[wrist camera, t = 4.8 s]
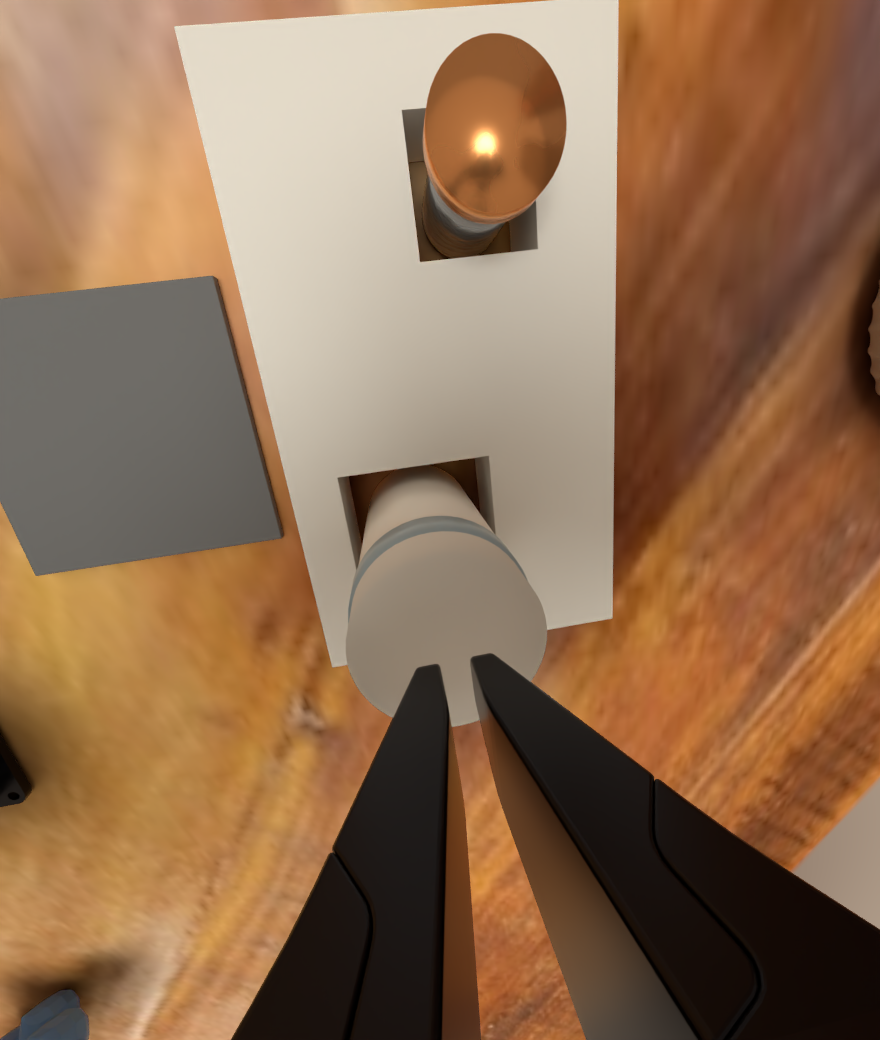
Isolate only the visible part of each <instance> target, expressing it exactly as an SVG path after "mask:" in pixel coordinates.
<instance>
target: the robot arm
mask: <svg viewBox="0 0 880 1040" xmlns="http://www.w3.org/2000/svg"><path fill="white" fill-rule="evenodd" d="M470 667H471V674H472V682H473V689H474V696H475V702H476V707H477V711H478V715H479V719H480V723H481V727H482V732H483V736H484V740H485V744H486V748H487V752H488V756H489V761H490V765H491V769H492V773H493V777H494V781H495V785H496V788H497V792H498V796H499V799H500V802H501V805H502V808H503V811H504V814H505V816H506V819H507V822H508V825H509V827H510V830H511V833H512V836H513V838H514V841H515V844H516V847H517V849H518V852H519V855H520V858H521V861H522V863H523V866H524V869H525V872H526V874H527V877H528V880H529V883H530V885H531V888H532V891H533V894H534V896H535V899H536V902H537V905H538V907H539V910H540V913H541V916H542V918H543V921H544V924H545V927H546V930H547V932H548V935H549V938H550V941H551V943H552V946H553V949H554V952H555V954H556V957H557V960H558V963H559V965H560V968H561V971H562V974H563V976H564V979H565V982H566V985H567V987H568V990H569V993H570V996H571V999H572V1001H573V1004H574V1007H575V1010H576V1012H577V1015H578V1018H579V1021H580V1023H581V1026H582V1029H583V1032H584V1034H585V1037H586V1040H880V929H878V928H877V927H875V926H874V925H872V924H871V923H869V922H867V921H866V920H864V919H863V918H861V917H859V916H858V915H857V914H855V913H853V912H852V911H850V910H849V909H847V908H846V907H844V906H843V905H841V904H840V903H838V902H836V901H835V900H833V899H832V898H830V897H829V896H827V895H826V894H824V893H822V892H821V891H819V890H818V889H816V888H815V887H813V886H811V885H810V884H808V883H807V882H805V881H804V880H802V879H801V878H799V877H798V876H796V875H794V874H793V873H791V872H790V871H788V870H787V869H785V868H784V867H782V866H781V865H779V864H778V863H776V862H775V861H773V860H772V859H770V858H769V857H767V856H766V855H764V854H763V853H761V852H760V851H758V850H757V849H755V848H754V847H752V846H751V845H749V844H748V843H746V842H745V841H743V840H742V839H740V838H739V837H737V836H736V835H734V834H733V833H731V832H730V831H729V830H727V829H726V828H725V827H723V826H722V825H720V824H719V823H718V822H716V821H715V820H714V819H712V818H711V817H709V816H708V815H707V814H705V813H704V812H703V811H701V810H700V809H698V808H697V807H696V806H694V805H693V804H691V803H690V802H689V801H687V800H686V799H685V798H683V797H682V796H681V795H679V794H678V793H677V792H675V791H674V790H673V789H671V788H670V787H669V786H667V785H666V784H665V783H664V782H662V781H661V780H659V779H656V780H655V781H654V776H653V775H652V774H651V773H650V772H649V771H647V770H646V769H645V768H643V767H642V766H641V765H639V764H638V763H637V762H636V761H634V760H633V759H632V758H630V757H629V756H628V755H626V754H625V753H624V752H622V751H621V750H620V749H618V748H617V747H616V746H614V745H613V744H612V743H610V742H609V741H608V740H607V739H605V738H604V737H603V736H601V735H600V734H599V733H597V732H596V731H595V730H593V729H592V728H591V727H589V726H588V725H587V724H585V723H584V722H583V721H582V720H580V719H579V718H578V717H576V716H575V715H574V714H572V713H571V712H570V711H568V710H567V709H566V708H564V707H563V706H562V705H560V704H559V703H558V702H557V701H555V700H554V699H553V698H551V697H550V696H549V695H547V694H546V693H545V692H543V691H542V690H541V689H539V688H538V687H537V686H535V685H534V684H533V683H532V682H530V681H529V680H528V679H526V678H525V677H524V676H522V675H521V674H520V673H518V672H517V671H516V670H514V669H513V668H512V667H510V666H509V665H508V664H506V663H505V662H504V661H503V660H501V659H500V658H499V657H497V656H496V655H495V654H492V653H487V654H482V655H477V656H473V657H471V659H470ZM31 792H32V787H31V785H30V783H29V782H28V780H27V778H26V777H25V775H24V773H23V771H22V770H21V768H20V766H19V765H18V763H17V761H16V760H15V758H14V756H13V754H12V753H11V751H10V749H9V748H8V746H7V744H6V742H5V741H4V739H3V737H2V736H1V734H0V807H3V806H8V805H14V804H19V803H21V802H23V801H24V800H25V799H26V798H27V797H28V796H29V794H30V793H31ZM332 851H333V853H330V854H329V855H328V857H327V859H326V861H325V863H324V865H323V867H322V870H321V872H320V874H319V876H318V878H317V880H316V883H315V885H314V887H313V889H312V891H311V893H310V895H309V897H308V899H307V901H306V903H305V905H304V907H303V909H302V911H301V913H300V915H299V917H298V919H297V921H296V923H295V925H294V927H293V929H292V931H291V933H290V935H289V937H288V939H287V941H286V943H285V944H284V946H283V948H282V950H281V952H280V953H279V955H278V957H277V959H276V961H275V962H274V964H273V966H272V968H271V970H270V971H269V973H268V975H267V977H266V979H265V980H264V982H263V984H262V986H261V988H260V989H259V991H258V993H257V995H256V997H255V998H254V1000H253V1002H252V1004H251V1006H250V1007H249V1009H248V1011H247V1013H246V1014H245V1016H244V1018H243V1019H242V1021H241V1023H240V1025H239V1026H238V1028H237V1030H236V1032H235V1033H234V1035H233V1037H232V1039H231V1040H481V1032H480V1017H479V1003H478V989H477V975H476V960H475V946H474V932H473V918H472V903H471V889H470V875H469V860H468V846H467V832H466V818H465V808H464V800H463V793H462V787H461V781H460V775H459V768H458V762H457V756H456V750H455V744H454V738H453V732H452V726H451V719H450V713H449V707H448V702H447V697H446V692H445V687H444V682H443V677H442V672H441V668H440V665H439V664H431V665H426V666H421V667H418V668H417V669H416V670H415V672H414V674H413V676H412V678H411V680H410V683H409V685H408V687H407V689H406V691H405V693H404V695H403V697H402V700H401V702H400V704H399V706H398V708H397V710H396V712H395V715H394V717H393V719H392V721H391V723H390V725H389V727H388V729H387V732H386V734H385V736H384V738H383V740H382V742H381V744H380V747H379V749H378V751H377V753H376V755H375V757H374V759H373V761H372V764H371V766H370V768H369V770H368V772H367V774H366V776H365V779H364V781H363V783H362V785H361V787H360V789H359V791H358V793H357V796H356V798H355V800H354V802H353V804H352V806H351V808H350V811H349V813H348V815H347V817H346V819H345V821H344V823H343V825H342V828H341V830H340V832H339V834H338V836H337V838H336V840H335V842H334V845H333V847H332Z"/></svg>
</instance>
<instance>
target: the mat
mask: <svg viewBox="0 0 880 1040" xmlns="http://www.w3.org/2000/svg"><path fill="white" fill-rule="evenodd" d="M0 502H1V504H2V506H3V508H4V510H5V513H6V515H7V517H8V519H9V521H10V523H11V525H12V527H13V529H14V531H15V533H16V536H17V538H18V540H19V542H20V544H21V546H22V548H23V550H24V552H25V554H26V556H27V559H28V561H29V563H30V565H31V567H32V569H33V571H34V573H35V575H36V576H39V575H45V574H52V573H58V572H65V571H71V570H78V569H85V568H91V567H98V566H104V565H111V564H117V563H124V562H130V561H137V560H143V559H150V558H156V557H163V556H170V555H176V554H183V553H189V552H196V551H202V550H209V549H215V548H222V547H228V546H235V545H241V544H248V543H255V542H261V541H268V540H274V539H281V538H282V537H283V531H282V527H281V523H280V519H279V516H278V512H277V508H276V504H275V500H274V496H273V493H272V489H271V485H270V481H269V477H268V473H267V469H266V466H265V462H264V458H263V454H262V450H261V446H260V442H259V439H258V435H257V431H256V427H255V423H254V419H253V416H252V412H251V408H250V404H249V400H248V396H247V392H246V389H245V385H244V381H243V377H242V373H241V369H240V366H239V362H238V358H237V354H236V350H235V346H234V342H233V339H232V335H231V331H230V327H229V323H228V319H227V316H226V312H225V308H224V304H223V300H222V296H221V292H220V289H219V285H218V281H217V278H215V277H214V276H206V277H197V278H187V279H178V280H169V281H160V282H151V283H142V284H132V285H123V286H114V287H105V288H96V289H86V290H77V291H68V292H59V293H50V294H41V295H31V296H22V297H13V298H4V299H0Z"/></svg>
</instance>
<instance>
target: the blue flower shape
mask: <svg viewBox="0 0 880 1040" xmlns="http://www.w3.org/2000/svg"><path fill="white" fill-rule="evenodd" d="M88 1039H89V1021H88V1016H87V1014H86V1013H85V1012H84V1011H83V1009H82V1008H80V1000H79V997H78V995H77V994H76V993H75V992H74V991H73V990H71V989H68V990H60V991H58V992H56V993H55V994H53V995H51V996H50V997H48V998H46V999H45V1000H43V1001H42V1002H41V1003H39V1004H38V1005H37V1006H35V1007H34V1008H33V1009H31V1010H30V1011H29V1012H28V1013H26V1014H25V1015H24V1016H23V1017H22V1019H21V1025H20V1026H18V1027H16V1028H15V1029H13V1030H12V1031H10V1032H9V1033H7V1034H6V1035H5V1036H3V1037H2V1038H1V1039H0V1040H88Z"/></svg>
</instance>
